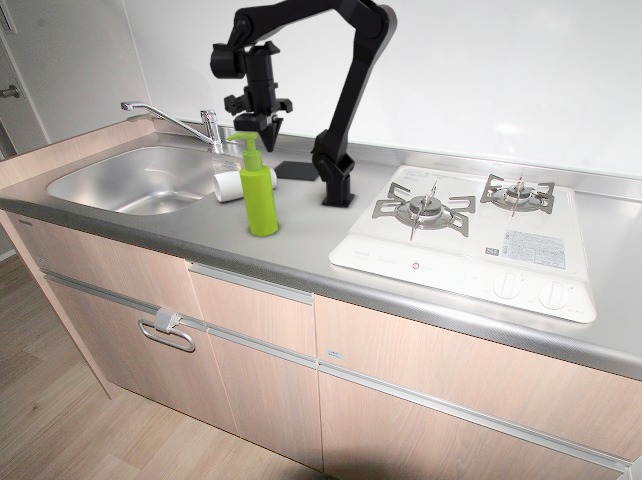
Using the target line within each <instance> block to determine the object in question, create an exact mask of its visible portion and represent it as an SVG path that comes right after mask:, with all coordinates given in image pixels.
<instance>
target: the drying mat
mask: <svg viewBox="0 0 642 480" xmlns="http://www.w3.org/2000/svg"><path fill="white" fill-rule="evenodd" d="M273 170H274V171H275V173H276V177H277V179H286V180H297V181H309V182H314V181H315V180H316V179H317V178H318V177H320V175H319V173H318V170H317V169H316V168H315V167H314V165H313V163H312V162H306V161H305V162H303V161H293V160H291V161H289V160H283V161H282V162H280V164H279V165H277V166H276V167H275V168H273Z"/></svg>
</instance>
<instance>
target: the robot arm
mask: <svg viewBox="0 0 642 480" xmlns="http://www.w3.org/2000/svg"><path fill="white" fill-rule="evenodd" d="M331 11H335V12H337V13H338V14H339V16H340V17H341V18H342V19H343V20H344V21H345V22H346V23H347V24H348V25H349V26H351V27H352V28H354V29H355V30H354V36H353V41H352V42H353V43H352V59H351V64H350V66H349V69H348V72H347V75H346V78H345V80H344V83H343V86H342V89H341V92H340V95H339V98H338V101H337V102H336V103H337V104H336V106H335V108H334V112H333V115H332V118H331V120H330V123H329V126H328V128H325V129H324V130H322V131H321V132H320V133H319V134H316V136H315V138H314V143H313V148H312V149H311V151H310V152H309V154H311V163H313V165H314V167H315V168H316V169H317V170H318V173H319V178H320V180H321V182H322V183H325V194H326V196H325V197H324V198H323V200H322V201H321V204H322V205H323V206H331V207H332V206H333V207H341V208H348V207H349V206H350V205H351V203H352V201H353V200H354V198H355V195H356V194H355V193H351V174H350V173H352V171H353V170H354V168H355V166H356V161H355V160H354V159H353V158H352V157H351V155H349V154H348V153H347V151H348V144H349V132H350V129H351V126H352V124H353V121H354V119H355V116H356V113H357V111H358V109H359V105H360V104H361V101H362V98H363V96H364V93H365V91H366V88H367V85H368V82H369V80H370V77H371V75H372V72H373V69H374V67H375V65H376V63H377V62H378V61H379V59H380V57H381V56H382V54H383V53H384V52H385V51H386V49H387V47H388V45H389V43H390V42H391V40H392V38H393V37H394V35H395V33H396V31H397V27H398V21H399V20H398V17H397V13H396V11H395V10H394V8H393V7H391V6H390V5H388V4H378V3H376V2H375V1H374V0H282V1H279V2H276V3H273V4H267V5H266V4H265V5H255V6H245V7H240V8H238V9H237V10H236V11H235V12H234V16H233V26H232V29H231V31H230V34H229V38H228V40H227V42H226V43H224V42H217V43H213V44H211V45H212V52H211V54H210V58H209V60H210V61H209V67H210V71H211V74H212V75H213V76H214V77H215V78H216V79H218V80H243V79H244V78H245V77H246V83H247V85H245V86H243V89H242V90H243V94H241V95H239V96H237V97H236V96H235V94H229V95H227V96H225V97H223V105H224V106H223V107H224V110H225V112H227V114H228V113H229V114H231V116H232V117H235V118H234V119H233V120H232V125H233V129H234V131H235V132H254V133H257V135H259V138H260V139H261V142H262V143H263V146H264V148H265V150H266V152H267V153H269V154H270V153H273V152H274V149H275V145H276V142H277V139H278V136H279V133H280V130H281V127H282V124H283V122H284V117H279V114H277V113H278V112H282V111H283V112H284V111H285V113H286V114H291V113H292V112H294V105H293V102H292V101H291V100H290V98H288V97H287V98H285V97H284V98H282V97H280V98H279V97H277V94H276V90H277V89H278V88H279V82H276V81H275V78H274V68H273V60H272V56H274V55H277V54H278V55H279V54H280V53H281V49H280V48H279V47H278V46H276V44H274V42H273V41H272V40H268V39H270V38H271V37H273V36H274V35H276V34H277V33H279V32H280V31H282V30H283V29H284V28H287V26H290V25H293V24H296V23H298V22H302V21H304V20H308V19H311V18H314V17H316V16H319V15H322V14H326V13H328V12H331ZM262 41H264V44H262V45H261V44H260V45H259V44H258V43H259V42H262ZM246 48H249V50H246ZM237 114H238V115H237Z"/></svg>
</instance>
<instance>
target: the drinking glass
mask: <svg viewBox="0 0 642 480" xmlns="http://www.w3.org/2000/svg"><path fill="white" fill-rule="evenodd" d="M269 168H270V174H271V181H272V189H276V187H277V186H278V178H277V177H276V173H275V171H274V168H272V167H269ZM239 171H240V170H233V171H232V170H231V171H225V172H224V171H223V172H220V173H216V174H213V175H212V180H211V181H212V186H213V190H214V194H215V196H216V199H217V201H218V202H220V203H223V202H229V201H230V202H231V201H235V200H239V199H241V198H244V195H243V189H242V184H241V179H240V174H239Z"/></svg>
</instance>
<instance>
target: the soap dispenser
mask: <svg viewBox="0 0 642 480" xmlns="http://www.w3.org/2000/svg"><path fill="white" fill-rule="evenodd" d="M257 137H258V132H246V131H242V132H237V133H233V134H230V135H228V136H227V137H226V140H227V141H228V142H232V141H234V140H244V142H245V150H244V151H243V152H242V157H243V163H244V167H243V168H241V169H240V170H238V171H239V174H240V179H241V184H242V189H243V195H244V197H243V199H244V205H245V209H246V215H247V220H248V225H249V231H250V233H251V234H252V235H254V236H257V237H266V236H270V235H272V234H274V233H275V232H277V231H278V229H279V226H278V225H279V224H278V218H277V210H276V204H275V197H274V190H273V189H272V181H271V174H270V168H271V167H269V166H268V165H264V164H263V159H262V158H263V157H262V151H261V150H260V149H258V148H256V142H255V140H256V139H257Z"/></svg>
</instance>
